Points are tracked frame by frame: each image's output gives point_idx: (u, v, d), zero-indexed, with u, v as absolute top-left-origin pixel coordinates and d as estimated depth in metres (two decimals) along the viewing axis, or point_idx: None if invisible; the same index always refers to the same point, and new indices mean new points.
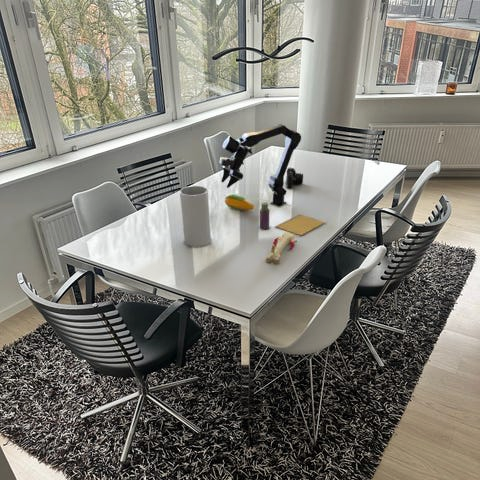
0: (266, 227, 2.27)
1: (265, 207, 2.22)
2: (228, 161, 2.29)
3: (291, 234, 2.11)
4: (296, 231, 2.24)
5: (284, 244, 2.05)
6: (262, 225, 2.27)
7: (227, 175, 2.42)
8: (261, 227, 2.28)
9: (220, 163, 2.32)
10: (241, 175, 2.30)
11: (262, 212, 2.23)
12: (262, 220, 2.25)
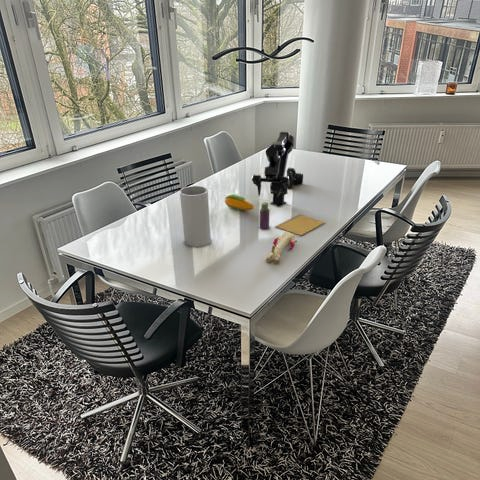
0: (266, 227, 2.27)
1: (265, 207, 2.22)
2: (278, 169, 2.23)
3: (291, 234, 2.11)
4: (296, 231, 2.24)
5: (284, 244, 2.05)
6: (262, 225, 2.27)
7: (260, 188, 2.31)
8: (261, 227, 2.28)
9: (268, 173, 2.22)
10: (289, 182, 2.29)
11: (262, 212, 2.23)
12: (262, 220, 2.25)
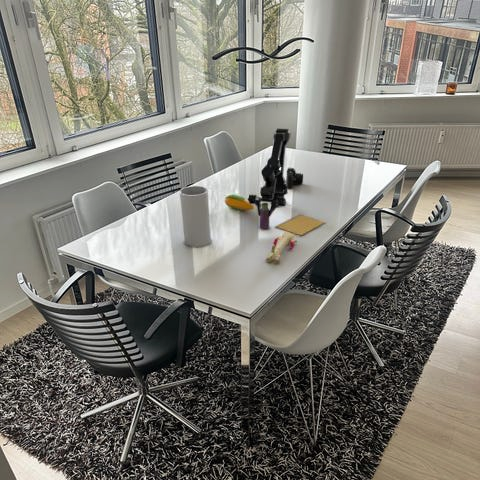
0: (266, 227, 2.27)
1: (265, 207, 2.22)
2: (274, 189, 2.20)
3: (291, 234, 2.11)
4: (296, 231, 2.24)
5: (284, 244, 2.05)
6: (262, 225, 2.27)
7: (260, 208, 2.27)
8: (261, 227, 2.28)
9: (264, 193, 2.19)
10: (285, 201, 2.26)
11: (262, 212, 2.23)
12: (262, 220, 2.25)
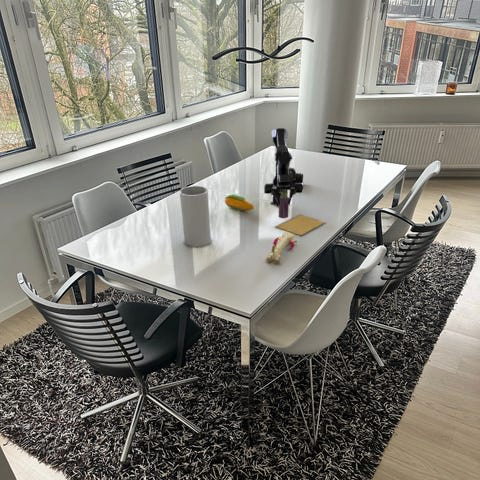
0: (286, 215, 2.23)
1: (285, 195, 2.17)
2: None
3: (291, 234, 2.11)
4: (296, 231, 2.24)
5: (284, 244, 2.05)
6: (282, 214, 2.22)
7: None
8: (281, 216, 2.23)
9: (285, 180, 2.14)
10: None
11: (283, 200, 2.18)
12: (283, 209, 2.20)
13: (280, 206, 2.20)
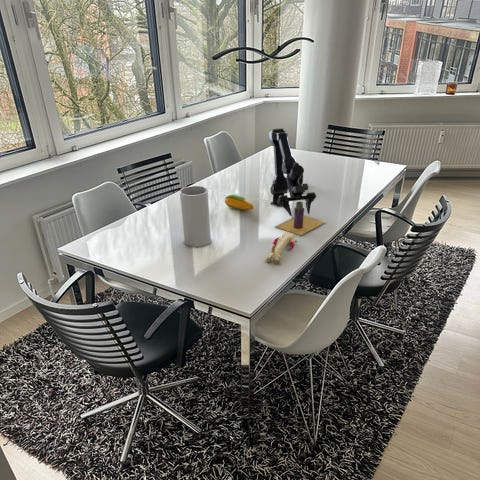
0: (302, 225, 2.27)
1: (301, 206, 2.21)
2: None
3: (291, 234, 2.11)
4: (296, 231, 2.24)
5: (284, 244, 2.05)
6: (299, 224, 2.26)
7: None
8: (297, 227, 2.27)
9: (301, 191, 2.18)
10: None
11: (299, 211, 2.22)
12: (299, 219, 2.24)
13: (296, 217, 2.24)
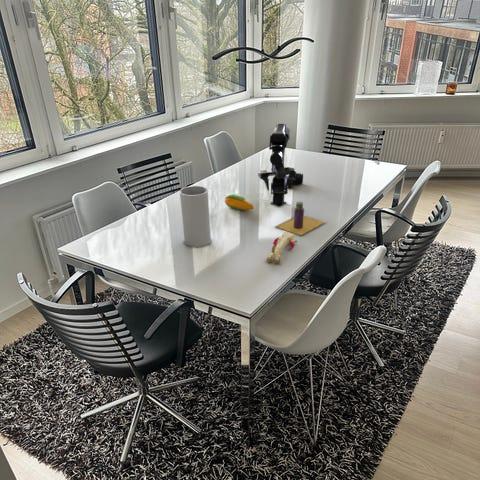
0: (302, 225, 2.27)
1: (301, 206, 2.21)
2: None
3: (291, 234, 2.11)
4: (296, 231, 2.24)
5: (284, 244, 2.05)
6: (299, 224, 2.26)
7: None
8: (297, 227, 2.27)
9: (281, 177, 2.26)
10: None
11: (299, 211, 2.22)
12: (299, 219, 2.24)
13: (296, 217, 2.24)
